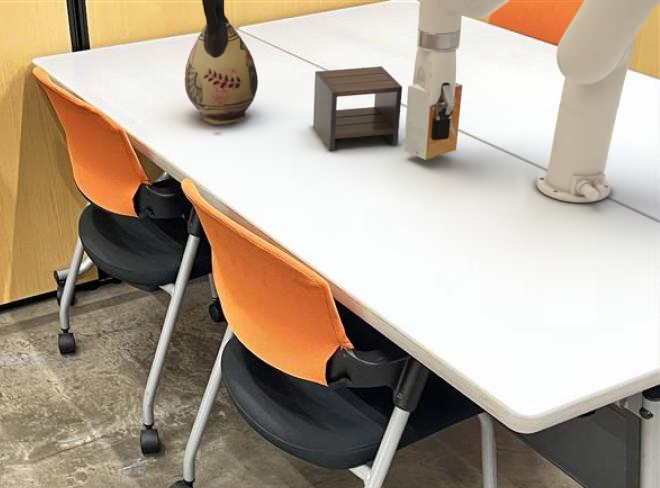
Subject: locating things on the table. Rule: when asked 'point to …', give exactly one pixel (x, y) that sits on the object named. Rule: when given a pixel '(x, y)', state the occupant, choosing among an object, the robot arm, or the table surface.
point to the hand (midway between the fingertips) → (431, 130)
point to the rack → (359, 119)
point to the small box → (428, 124)
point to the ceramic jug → (220, 70)
